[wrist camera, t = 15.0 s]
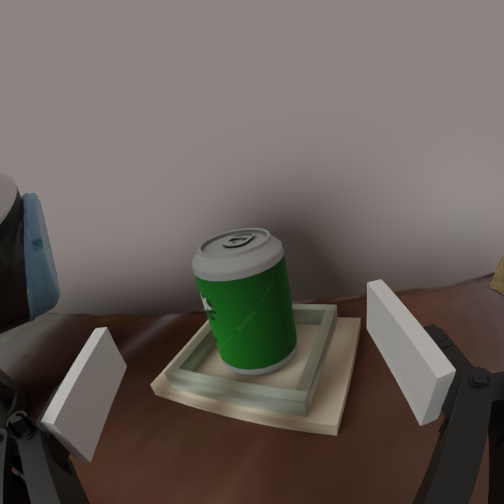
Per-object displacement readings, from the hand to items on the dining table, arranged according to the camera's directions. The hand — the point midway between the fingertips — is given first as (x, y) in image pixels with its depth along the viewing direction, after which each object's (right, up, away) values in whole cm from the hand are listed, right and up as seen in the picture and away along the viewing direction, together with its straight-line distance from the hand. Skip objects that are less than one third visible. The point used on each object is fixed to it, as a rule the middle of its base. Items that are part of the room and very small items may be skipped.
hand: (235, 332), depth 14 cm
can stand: (+2, -8, +15) cm, 17 cm away
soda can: (+2, -6, +14) cm, 16 cm away
